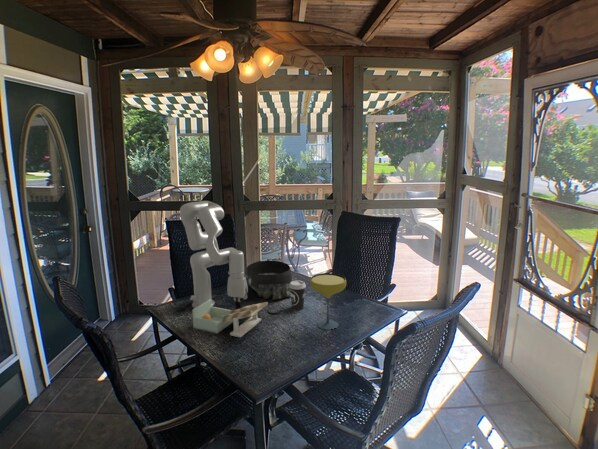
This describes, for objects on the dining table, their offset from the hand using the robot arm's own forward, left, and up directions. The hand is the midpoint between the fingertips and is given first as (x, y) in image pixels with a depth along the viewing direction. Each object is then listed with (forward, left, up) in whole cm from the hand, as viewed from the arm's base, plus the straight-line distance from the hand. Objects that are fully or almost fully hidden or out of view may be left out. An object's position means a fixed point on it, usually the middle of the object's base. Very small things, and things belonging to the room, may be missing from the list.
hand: (238, 308), depth 198 cm
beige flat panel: (+7, -4, +1) cm, 8 cm away
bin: (-10, -8, -7) cm, 15 cm away
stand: (+7, -4, -7) cm, 11 cm away
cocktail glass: (+44, +15, -8) cm, 47 cm away
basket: (-6, +43, -8) cm, 45 cm away
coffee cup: (+21, +28, -8) cm, 36 cm away
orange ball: (-14, -8, -5) cm, 17 cm away
